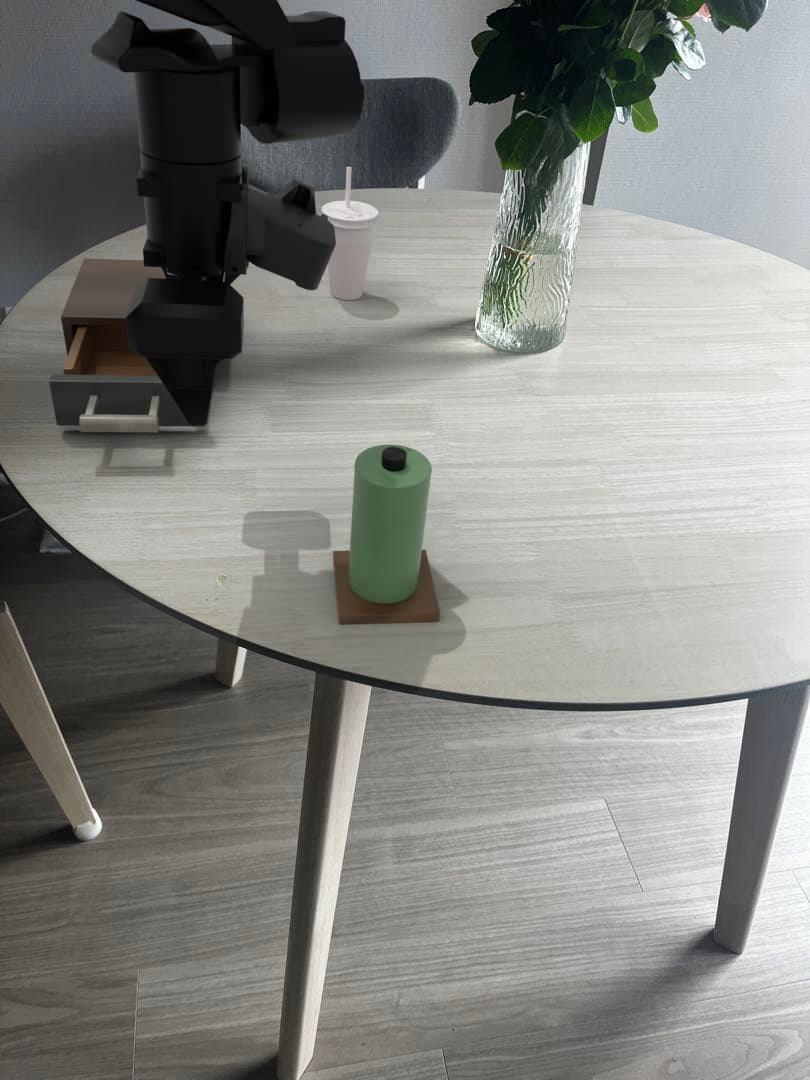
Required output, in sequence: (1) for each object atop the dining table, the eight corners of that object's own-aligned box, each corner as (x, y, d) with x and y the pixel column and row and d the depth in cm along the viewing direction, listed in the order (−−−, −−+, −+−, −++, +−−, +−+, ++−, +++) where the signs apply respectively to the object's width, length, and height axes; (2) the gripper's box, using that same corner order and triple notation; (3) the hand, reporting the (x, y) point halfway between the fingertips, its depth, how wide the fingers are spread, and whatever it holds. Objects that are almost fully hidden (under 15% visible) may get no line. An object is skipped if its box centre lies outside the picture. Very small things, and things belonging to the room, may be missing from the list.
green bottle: (422, 603, 63) (438, 475, 56) (350, 605, 62) (358, 475, 55) (412, 557, 67) (427, 432, 60) (345, 558, 66) (352, 432, 59)
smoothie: (352, 278, 108) (358, 157, 99) (385, 298, 104) (394, 174, 96) (308, 288, 105) (310, 164, 96) (340, 309, 101) (345, 181, 92)
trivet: (338, 624, 62) (339, 615, 61) (332, 558, 67) (333, 550, 66) (438, 621, 63) (440, 613, 62) (425, 557, 68) (426, 549, 67)
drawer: (196, 456, 74) (193, 411, 72) (46, 456, 73) (37, 410, 70) (206, 359, 88) (204, 317, 85) (79, 356, 86) (73, 314, 83)
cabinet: (212, 378, 86) (209, 319, 83) (70, 376, 84) (60, 316, 81) (217, 317, 97) (215, 262, 93) (91, 314, 95) (83, 258, 91)
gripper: (337, 213, 46) (325, 468, 55) (325, 119, 60) (317, 334, 70) (111, 199, 44) (139, 464, 54) (154, 106, 59) (170, 328, 68)
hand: (203, 389), depth 61 cm, fingers open, 9 cm apart
